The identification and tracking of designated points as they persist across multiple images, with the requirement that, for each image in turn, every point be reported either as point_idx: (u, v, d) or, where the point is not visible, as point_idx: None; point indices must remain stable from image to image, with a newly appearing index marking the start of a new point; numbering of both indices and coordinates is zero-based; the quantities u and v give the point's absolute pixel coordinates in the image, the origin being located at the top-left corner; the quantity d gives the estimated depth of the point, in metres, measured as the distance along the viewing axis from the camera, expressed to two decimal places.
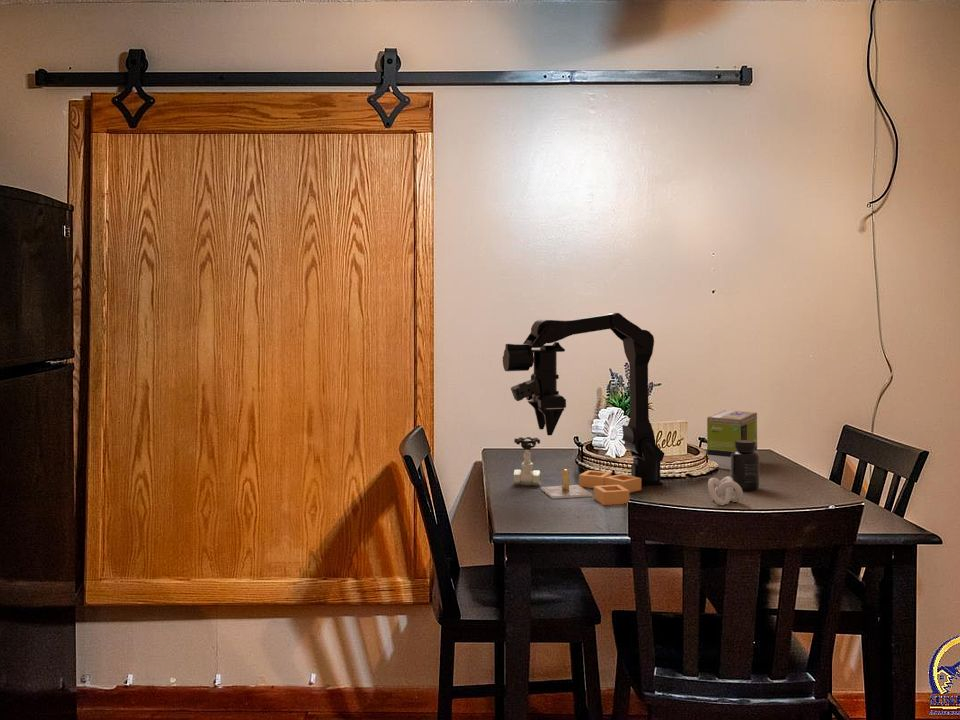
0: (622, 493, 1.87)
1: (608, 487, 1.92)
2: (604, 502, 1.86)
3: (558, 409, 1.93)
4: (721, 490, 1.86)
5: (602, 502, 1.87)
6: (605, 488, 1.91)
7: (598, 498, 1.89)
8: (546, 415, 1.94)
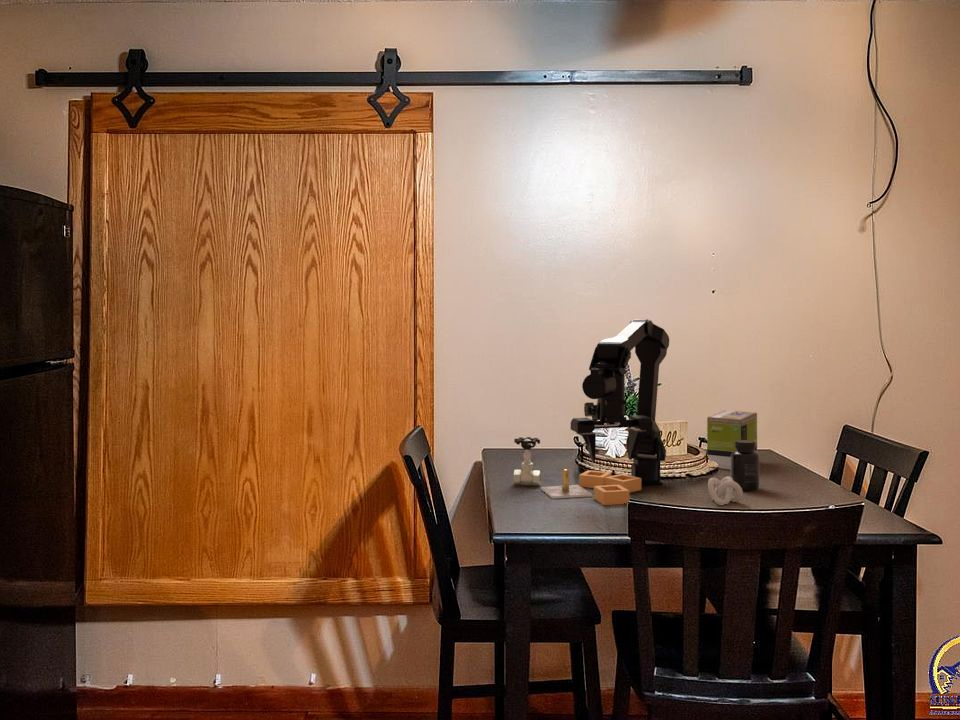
0: (622, 493, 1.87)
1: (608, 487, 1.92)
2: (604, 502, 1.86)
3: (581, 434, 1.86)
4: (721, 490, 1.86)
5: (602, 502, 1.87)
6: (605, 488, 1.91)
7: (598, 498, 1.89)
8: (584, 438, 1.89)
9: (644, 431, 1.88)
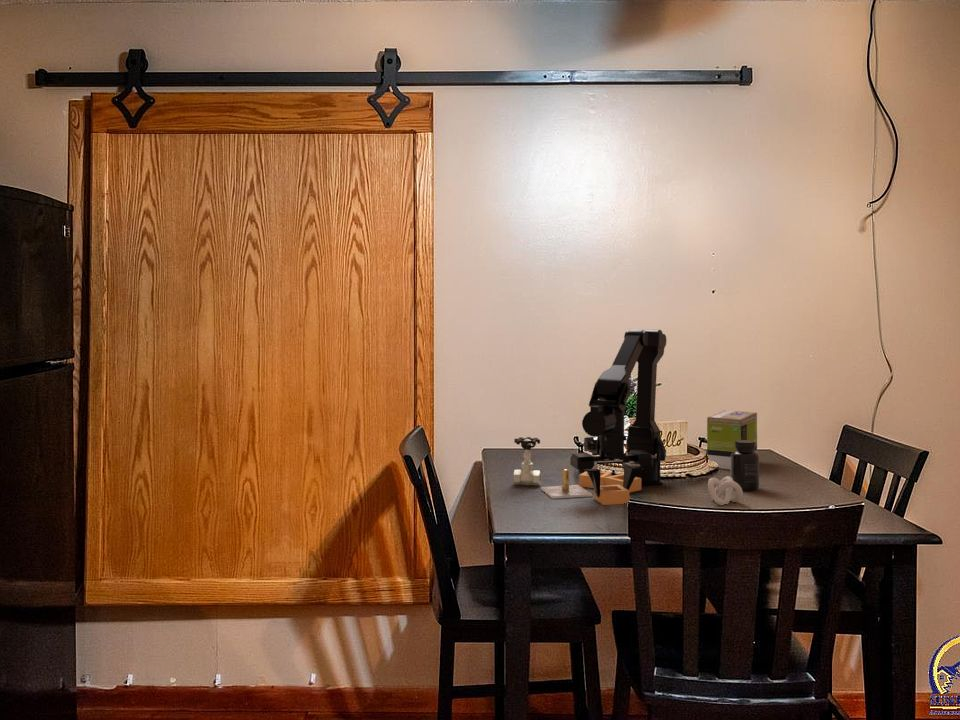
0: (622, 493, 1.87)
1: (608, 487, 1.92)
2: (604, 502, 1.86)
3: (586, 470, 1.86)
4: (721, 490, 1.86)
5: (602, 502, 1.87)
6: (605, 488, 1.91)
7: (598, 498, 1.89)
8: (589, 474, 1.89)
9: (639, 467, 1.88)
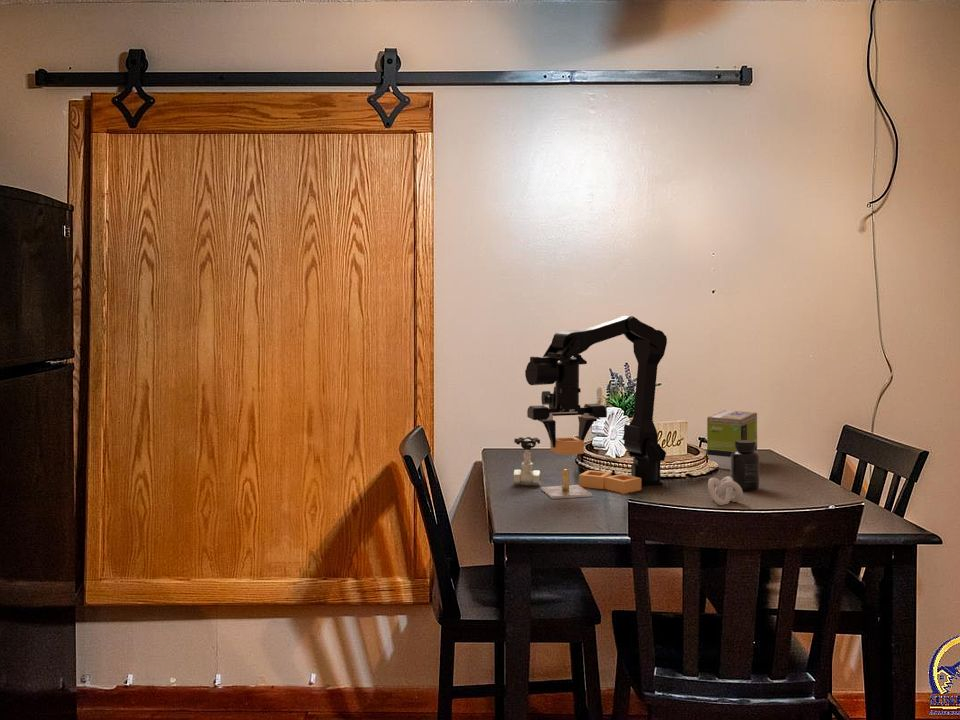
0: (577, 443, 1.94)
1: (564, 439, 1.99)
2: (559, 452, 1.93)
3: (542, 421, 1.93)
4: (721, 490, 1.86)
5: (557, 452, 1.94)
6: (561, 440, 1.98)
7: (554, 449, 1.96)
8: (545, 425, 1.96)
9: (593, 419, 1.95)
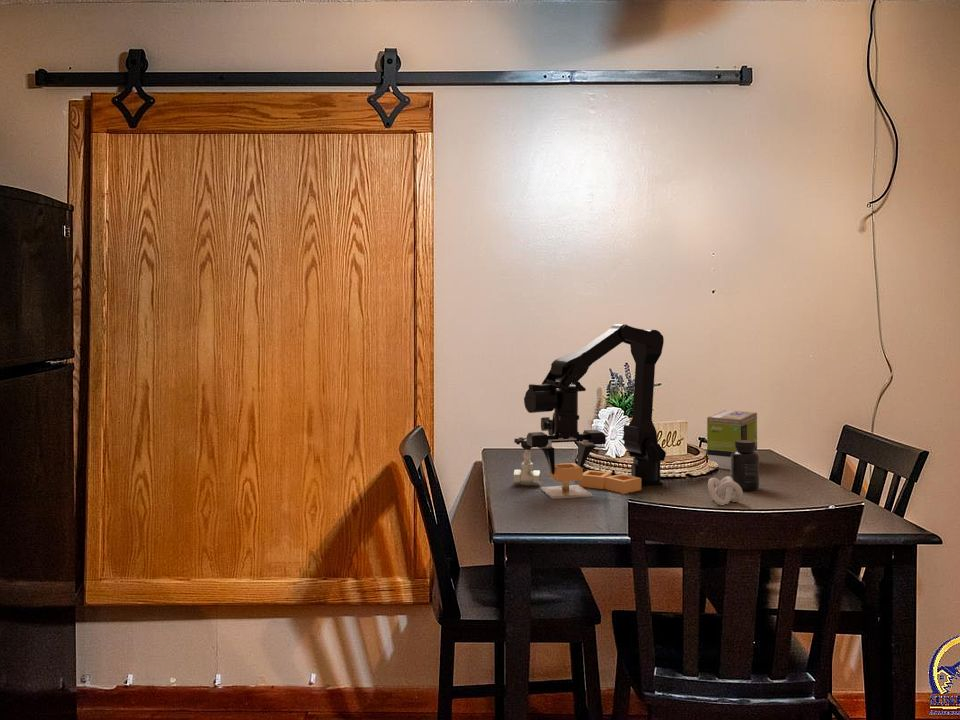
0: (576, 470, 1.95)
1: (563, 465, 1.99)
2: (558, 479, 1.94)
3: (541, 448, 1.94)
4: (721, 490, 1.86)
5: (556, 479, 1.94)
6: (560, 466, 1.99)
7: (553, 476, 1.97)
8: (544, 452, 1.97)
9: (592, 445, 1.96)
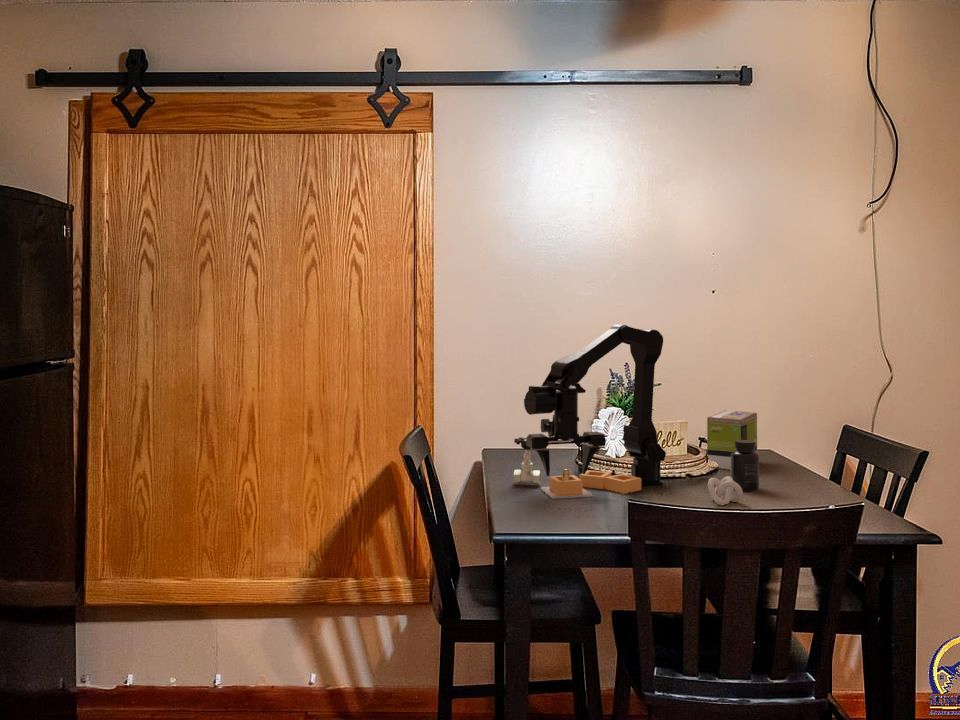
0: (575, 483, 1.95)
1: None
2: (558, 491, 1.94)
3: (536, 450, 1.94)
4: (721, 490, 1.86)
5: (556, 491, 1.95)
6: (560, 478, 1.99)
7: (553, 488, 1.97)
8: (539, 454, 1.97)
9: (596, 447, 1.96)
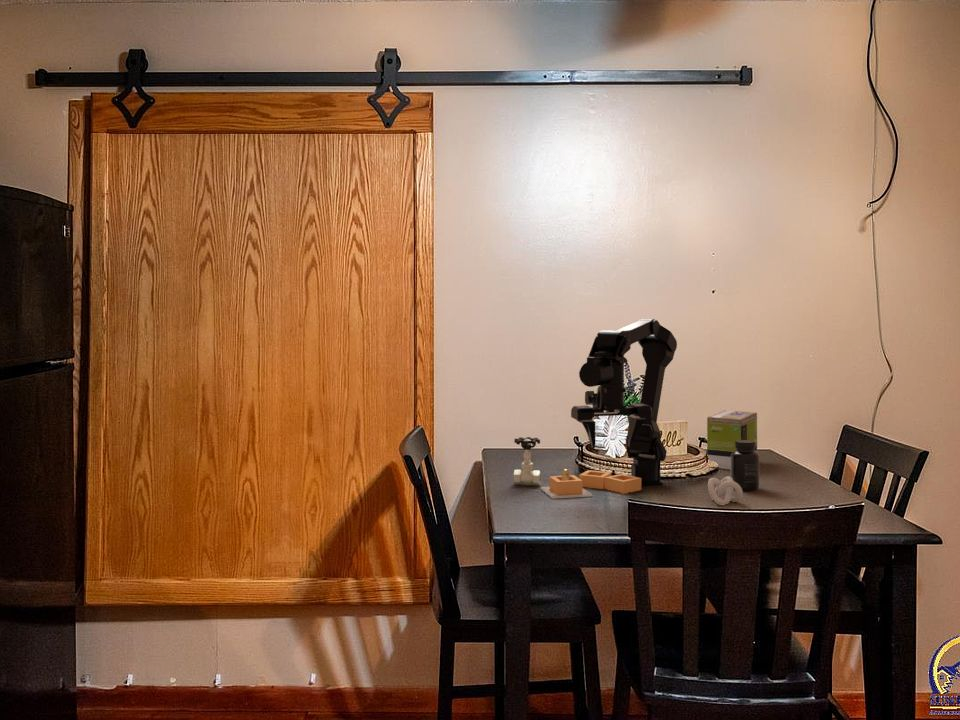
0: (575, 483, 1.95)
1: None
2: (558, 491, 1.94)
3: (581, 421, 1.90)
4: (721, 490, 1.86)
5: (556, 491, 1.95)
6: (560, 478, 1.99)
7: (553, 488, 1.97)
8: (584, 426, 1.93)
9: (643, 419, 1.92)
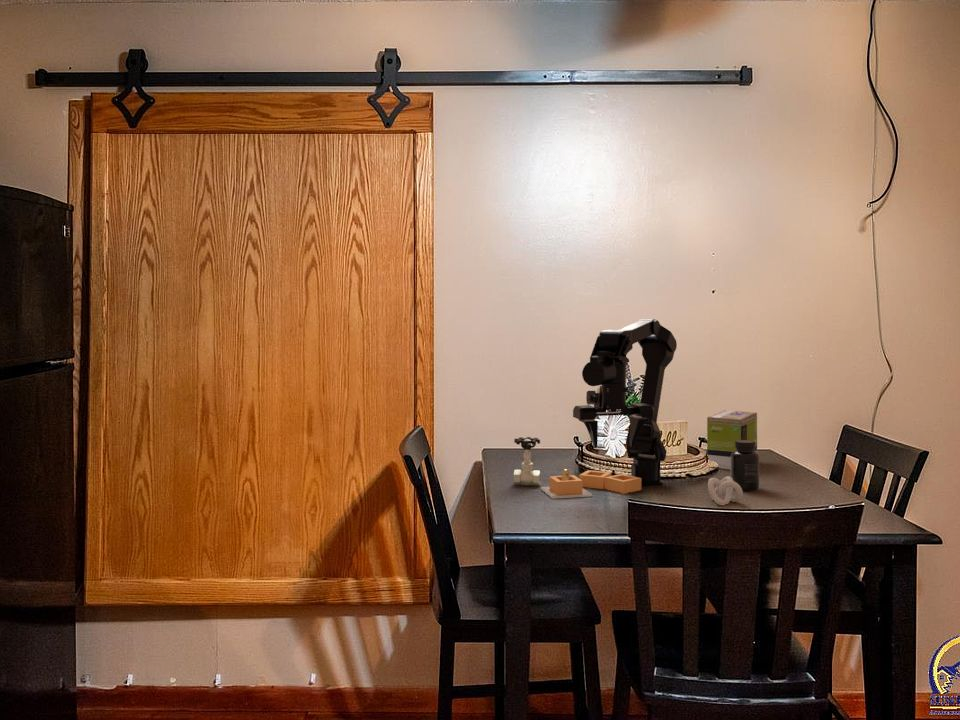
0: (575, 483, 1.95)
1: None
2: (558, 491, 1.94)
3: (583, 421, 1.90)
4: (721, 490, 1.86)
5: (556, 491, 1.95)
6: (560, 478, 1.99)
7: (553, 488, 1.97)
8: (586, 426, 1.93)
9: (645, 418, 1.92)
